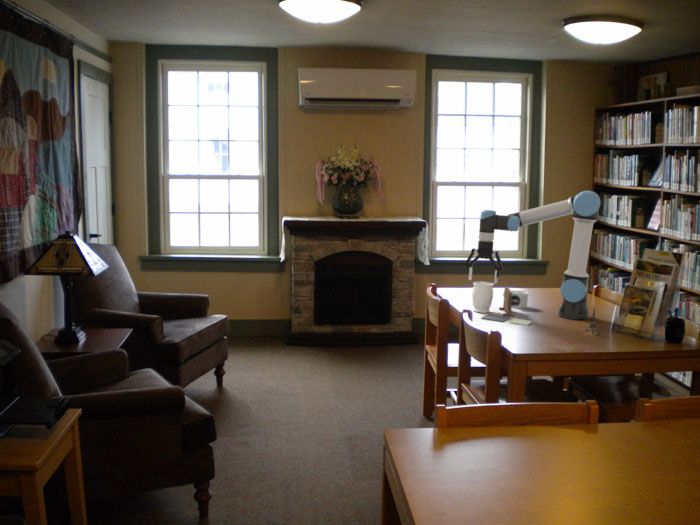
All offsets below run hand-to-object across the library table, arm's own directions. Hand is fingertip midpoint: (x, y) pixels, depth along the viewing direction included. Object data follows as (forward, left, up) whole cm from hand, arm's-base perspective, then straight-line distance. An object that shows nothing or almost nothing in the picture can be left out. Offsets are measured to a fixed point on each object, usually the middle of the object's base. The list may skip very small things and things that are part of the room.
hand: (482, 281), depth 366 cm
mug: (-11, -24, -16) cm, 31 cm away
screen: (-12, -5, -16) cm, 21 cm away
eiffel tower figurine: (-57, +14, -17) cm, 61 cm away
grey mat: (-11, +12, -16) cm, 23 cm away
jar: (0, 0, -16) cm, 16 cm away
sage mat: (-24, +13, -16) cm, 32 cm away
